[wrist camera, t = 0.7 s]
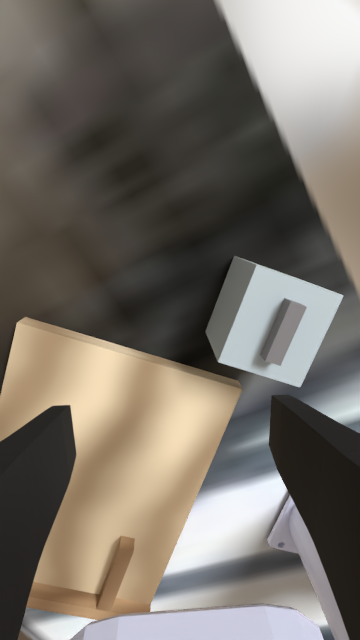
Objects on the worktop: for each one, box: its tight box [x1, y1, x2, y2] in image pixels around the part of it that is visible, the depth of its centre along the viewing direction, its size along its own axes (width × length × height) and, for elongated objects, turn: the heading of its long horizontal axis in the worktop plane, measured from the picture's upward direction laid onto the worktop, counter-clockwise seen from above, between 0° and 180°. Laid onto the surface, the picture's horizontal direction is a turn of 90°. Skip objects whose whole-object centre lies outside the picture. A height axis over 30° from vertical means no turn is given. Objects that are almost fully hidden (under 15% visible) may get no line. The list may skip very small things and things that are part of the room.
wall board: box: [0, 317, 242, 620], centre depth 22 cm, size 14×20×2 cm
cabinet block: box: [205, 256, 343, 387], centre depth 18 cm, size 4×5×6 cm
